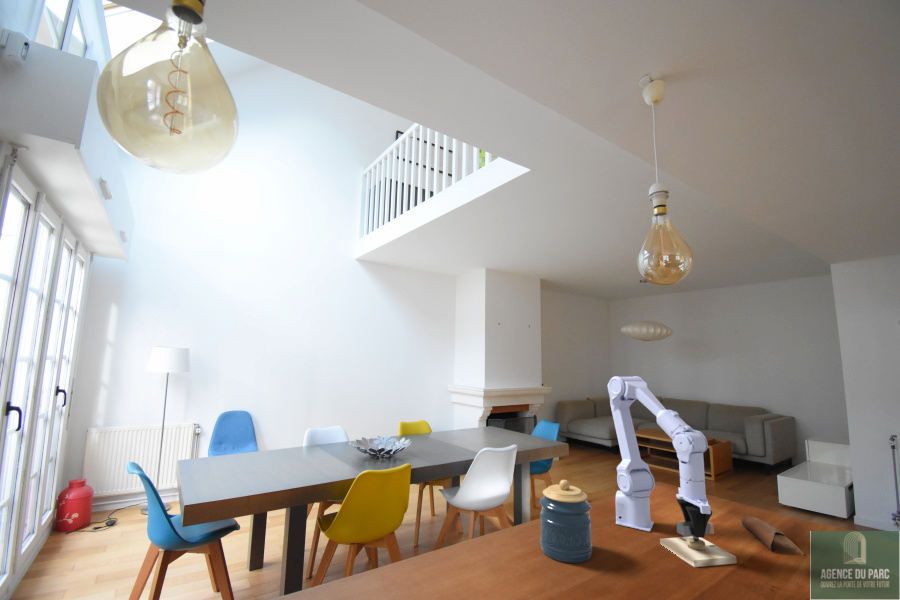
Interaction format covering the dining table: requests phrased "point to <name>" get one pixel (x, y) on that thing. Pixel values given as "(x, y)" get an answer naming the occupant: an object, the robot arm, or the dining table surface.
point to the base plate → (698, 551)
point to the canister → (565, 523)
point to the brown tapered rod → (771, 536)
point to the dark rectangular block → (687, 530)
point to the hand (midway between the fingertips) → (695, 533)
